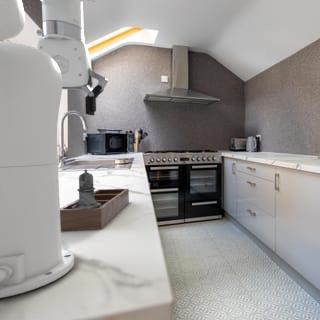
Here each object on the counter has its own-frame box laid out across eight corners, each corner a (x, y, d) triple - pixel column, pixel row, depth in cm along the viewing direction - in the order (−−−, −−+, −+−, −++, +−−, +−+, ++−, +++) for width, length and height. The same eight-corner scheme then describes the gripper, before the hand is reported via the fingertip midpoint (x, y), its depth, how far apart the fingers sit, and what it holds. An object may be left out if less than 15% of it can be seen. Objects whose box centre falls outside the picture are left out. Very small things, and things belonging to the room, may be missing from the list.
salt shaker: (107, 217, 62) (105, 167, 62) (91, 225, 57) (89, 170, 56) (84, 216, 63) (82, 167, 62) (65, 224, 57) (63, 170, 56)
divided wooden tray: (101, 228, 56) (100, 208, 56) (56, 231, 55) (55, 210, 54) (128, 202, 81) (128, 188, 80) (98, 203, 79) (98, 189, 79)
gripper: (8, 26, 53) (13, 111, 54) (99, 32, 56) (102, 113, 57) (31, 40, 60) (35, 115, 62) (111, 45, 63) (113, 116, 64)
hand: (67, 114), depth 59 cm, fingers open, 9 cm apart
